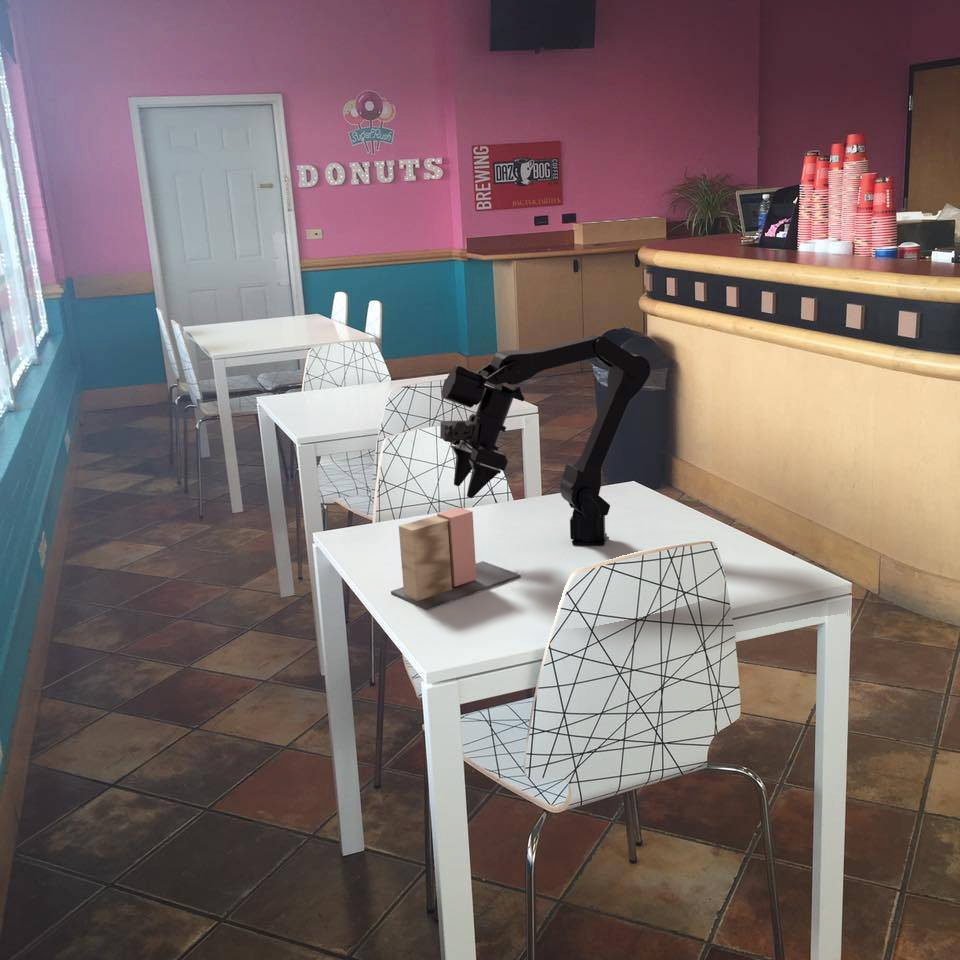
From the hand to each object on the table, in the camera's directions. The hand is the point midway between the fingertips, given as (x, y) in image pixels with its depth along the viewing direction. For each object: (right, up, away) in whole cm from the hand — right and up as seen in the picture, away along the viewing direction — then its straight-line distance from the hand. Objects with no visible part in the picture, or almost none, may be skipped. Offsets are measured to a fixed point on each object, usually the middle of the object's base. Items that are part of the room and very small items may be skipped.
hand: (462, 491), depth 198 cm
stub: (0, -17, -9) cm, 19 cm away
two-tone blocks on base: (-1, -17, -10) cm, 20 cm away
